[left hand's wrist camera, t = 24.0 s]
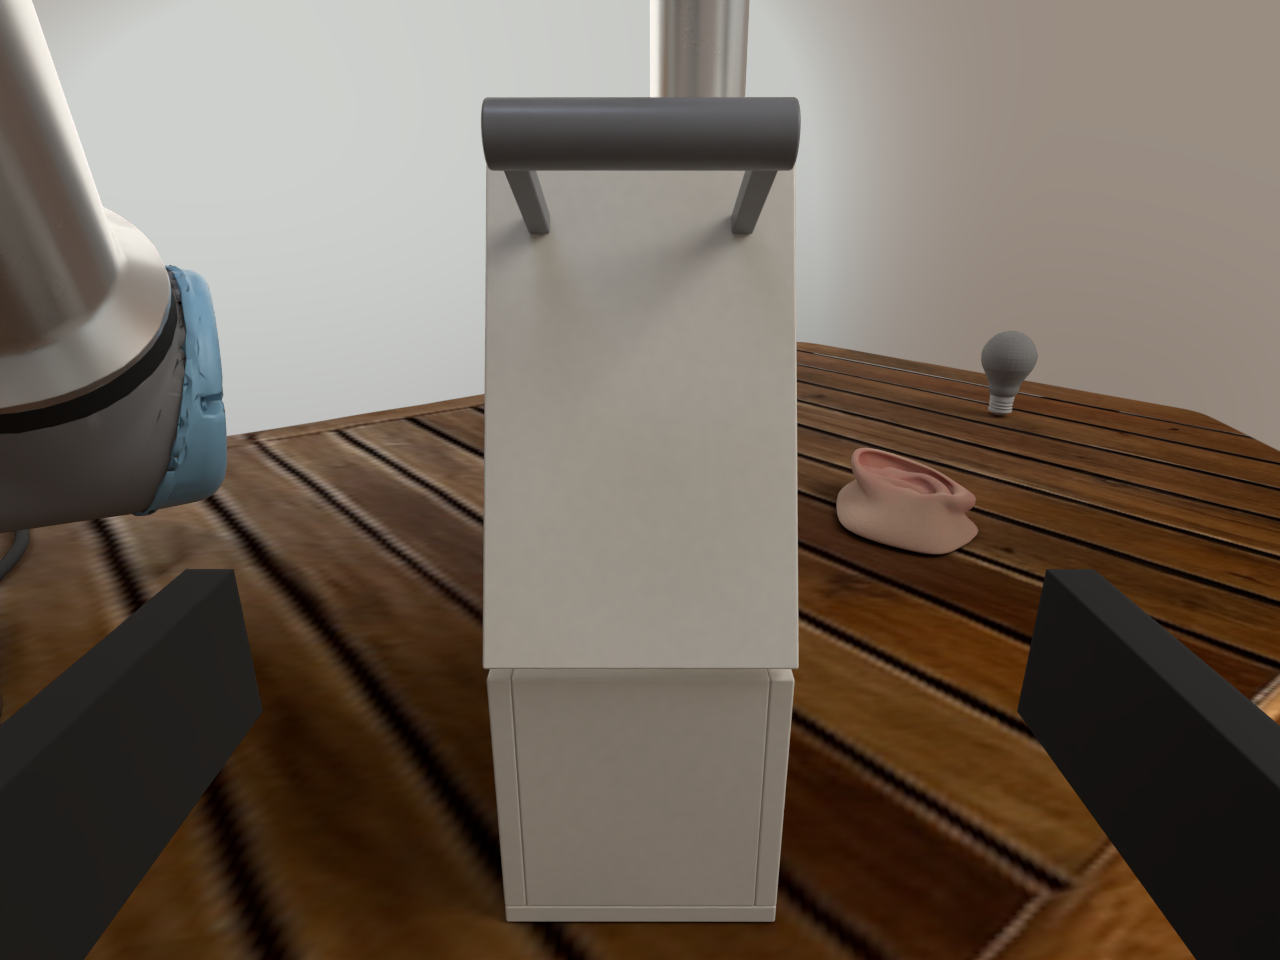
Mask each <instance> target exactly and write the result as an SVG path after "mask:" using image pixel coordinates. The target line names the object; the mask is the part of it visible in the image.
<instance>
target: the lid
mask: <svg viewBox="0 0 1280 960" xmlns="http://www.w3.org/2000/svg"><path fill="white" fill-rule="evenodd" d="M800 123H801V119H800V106H799V102H798V99H797V98H795V97H487V98H485V99H484V100H483V104H482V110H481V133H482V144H483V151H484V156H485V160H486V291H485V292H486V293H485V426H484V562H483V668H484V669H798V518H797V369H796V223H795V222H796V221H795V162H796V158H797V154H798V148H799V140H800Z"/></svg>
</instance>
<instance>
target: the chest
mask: <svg viewBox="0 0 1280 960" xmlns="http://www.w3.org/2000/svg"><path fill="white" fill-rule="evenodd" d="M487 690H488V702H489V715H490V727H491V739H492V751H493V764H494V776H495V788H496V800H497V812H498V825H499V837H500V849H501V861H502V874H503V886H504V898H505V910H506V920H507V921H508V922H774V920H775V911H776V899H777V887H778V875H779V863H780V850H781V838H782V826H783V814H784V802H785V790H786V778H787V765H788V753H789V741H790V729H791V717H792V705H793V693H794V677H793V674H792V671H791V669H490V671H489V674H488V677H487Z"/></svg>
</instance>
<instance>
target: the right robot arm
mask: <svg viewBox="0 0 1280 960" xmlns="http://www.w3.org/2000/svg"><path fill="white" fill-rule="evenodd" d="M748 18H749V0H650V97H745V84H746V62H747V41H748Z"/></svg>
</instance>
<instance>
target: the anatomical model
mask: <svg viewBox="0 0 1280 960" xmlns="http://www.w3.org/2000/svg"><path fill="white" fill-rule="evenodd" d="M851 465H852V470H853V473H854V476H855V478H856V479H855V480H854V481H852V482H851V483H849V484H847V485H846V486H844V487H843V488H842V489H841V491H840V492H839V494H838V497H837V505H836V508H837V515H838V518H839V521H840V522H841V524H842V525H843V526H844V527H845V528H846V529H848V530H849V531H851V532H853V533H855V534H857V535H859V536H861V537H864V538H867V539H869V540H872V541H875V542H878V543H882V544H885V545H889V546H892V547H896V548H900V549H904V550H909V551H914V552H918V553H925V554H945V553H949V552H952V551H954V550H956V549H958V548H960V547H962V546H963V545H965V544H967V543H968V542H970V541H971V540H972V539H973V538H974V537H975V536H976V535H977V533H978V529H977V527H976V526H975V524H974V523H973V522H972V521H971V520H969V519H968V518H967V516H966V515H965V513H966V512H967V511H968V510H970V509H971V508H972V507H973V506H974V505H975V502H976V498H975V496H974V495H973V494H972V493H971V492H969V491H968V490H966V489H965V488H963V487H962V486H960V485H959V484H957V483H956V482H954V481H953V480H951V479H950V478H948V477H947V476H945V475H944V474H942V473H940V472H938V471H936V470H934V469H932V468H930V467H928V466H925V465H923V464H920V463H918V462H915V461H912V460H910V459H907V458H904V457H901V456H898V455H895V454H892V453H888V452H885V451H881V450H876V449H871V448H860V449H857V450H856V451H854V453H853V454H852V458H851Z"/></svg>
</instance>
